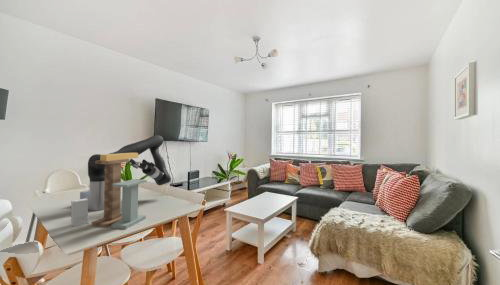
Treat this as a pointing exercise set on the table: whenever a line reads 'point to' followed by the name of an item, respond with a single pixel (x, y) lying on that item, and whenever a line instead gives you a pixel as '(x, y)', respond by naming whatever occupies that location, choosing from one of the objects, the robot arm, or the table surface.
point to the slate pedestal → (129, 204)
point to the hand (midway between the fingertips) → (136, 160)
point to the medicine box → (84, 195)
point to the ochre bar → (118, 156)
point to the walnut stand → (111, 193)
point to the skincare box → (79, 212)
